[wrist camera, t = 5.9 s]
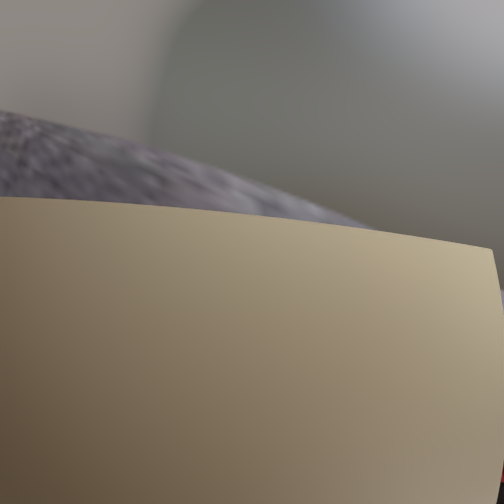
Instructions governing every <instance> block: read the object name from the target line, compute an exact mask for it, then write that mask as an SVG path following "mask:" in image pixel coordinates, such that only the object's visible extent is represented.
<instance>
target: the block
mask: <svg viewBox="0 0 504 504" xmlns="http://www.w3.org/2000/svg"><path fill="white" fill-rule="evenodd" d="M503 463H504V314H503V306H502V299H501V293H500V287H499V282H498V276H497V271H496V266H495V261H494V257H493V252H492V249H487V248H481V247H475V246H470V245H464V244H458V243H453V242H446V241H441V240H434V239H428V238H422V237H415V236H409V235H402V234H395V233H389V232H382V231H375V230H368V229H361V228H354V227H347V226H339V225H332V224H324V223H316V222H308V221H300V220H292V219H283V218H275V217H266V216H257V215H248V214H238V213H229V212H219V211H209V210H198V209H188V208H176V207H165V206H153V205H140V204H127V203H113V202H99V201H83V200H66V199H47V198H24V197H0V504H496V502H497V498H498V493H499V487H500V482H501V476H502V470H503Z"/></svg>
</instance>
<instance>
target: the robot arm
mask: <svg viewBox="0 0 504 504" xmlns="http://www.w3.org/2000/svg"><path fill="white" fill-rule="evenodd" d="M496 504H504V482H500V487H499V493H498V498H497V502H496Z"/></svg>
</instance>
